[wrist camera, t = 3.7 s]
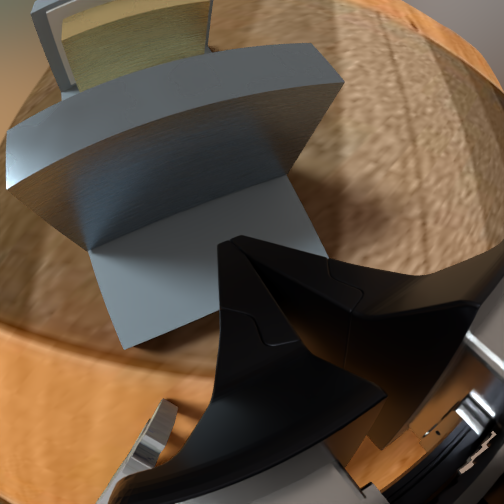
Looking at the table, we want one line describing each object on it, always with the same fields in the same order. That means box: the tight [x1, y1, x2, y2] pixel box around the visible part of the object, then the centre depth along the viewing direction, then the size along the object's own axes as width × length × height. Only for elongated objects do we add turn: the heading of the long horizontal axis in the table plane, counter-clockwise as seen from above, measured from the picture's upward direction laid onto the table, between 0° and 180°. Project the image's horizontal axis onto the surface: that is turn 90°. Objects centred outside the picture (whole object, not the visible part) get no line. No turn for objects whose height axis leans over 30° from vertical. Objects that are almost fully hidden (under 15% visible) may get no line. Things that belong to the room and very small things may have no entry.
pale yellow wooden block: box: [61, 0, 210, 92], centre depth 13 cm, size 3×8×7 cm, turn 115°
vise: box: [31, 0, 329, 350], centre depth 13 cm, size 22×12×10 cm, turn 25°
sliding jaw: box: [6, 43, 345, 251], centre depth 11 cm, size 3×12×8 cm, turn 115°
